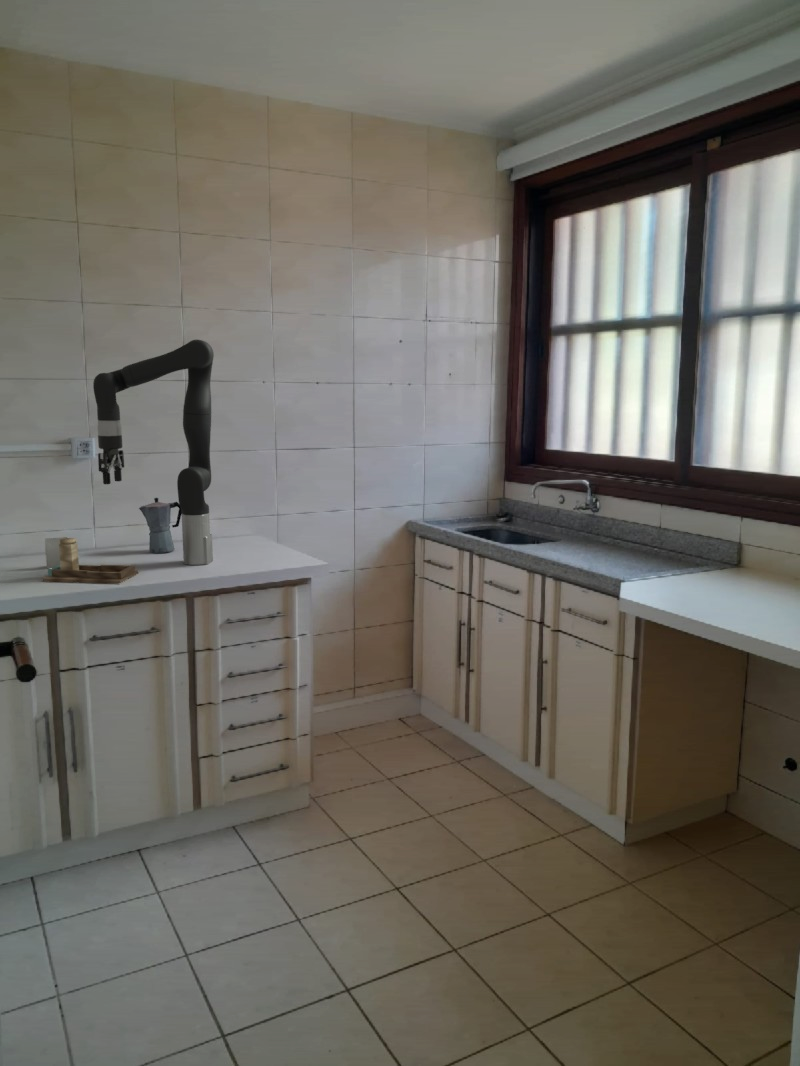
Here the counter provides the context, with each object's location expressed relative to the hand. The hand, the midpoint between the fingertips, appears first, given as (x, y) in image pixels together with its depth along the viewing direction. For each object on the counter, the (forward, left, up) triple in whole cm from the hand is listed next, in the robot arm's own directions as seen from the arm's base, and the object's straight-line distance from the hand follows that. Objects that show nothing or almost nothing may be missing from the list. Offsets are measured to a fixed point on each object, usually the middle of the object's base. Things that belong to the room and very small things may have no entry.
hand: (112, 482), depth 269 cm
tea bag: (+18, +6, -28) cm, 34 cm away
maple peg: (+7, +19, -27) cm, 34 cm away
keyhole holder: (0, +19, -28) cm, 34 cm away
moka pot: (-7, -23, -28) cm, 37 cm away
